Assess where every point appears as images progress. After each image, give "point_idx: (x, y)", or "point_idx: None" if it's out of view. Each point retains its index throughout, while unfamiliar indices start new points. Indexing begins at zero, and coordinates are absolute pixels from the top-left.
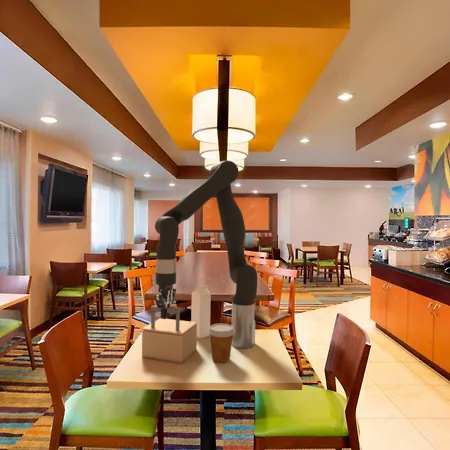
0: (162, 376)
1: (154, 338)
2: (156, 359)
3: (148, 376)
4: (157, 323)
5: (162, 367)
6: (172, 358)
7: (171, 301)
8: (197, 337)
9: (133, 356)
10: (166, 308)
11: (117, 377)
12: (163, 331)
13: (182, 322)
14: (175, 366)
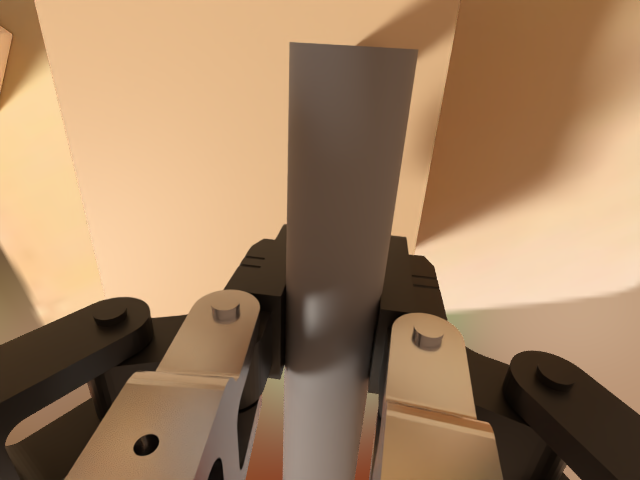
0: (621, 55)
1: None
2: None
3: (618, 139)
4: None
5: (492, 106)
6: None
7: (128, 351)
8: (7, 53)
9: None
10: (421, 319)
11: (625, 280)
12: (423, 198)
13: (114, 111)
14: (469, 28)
